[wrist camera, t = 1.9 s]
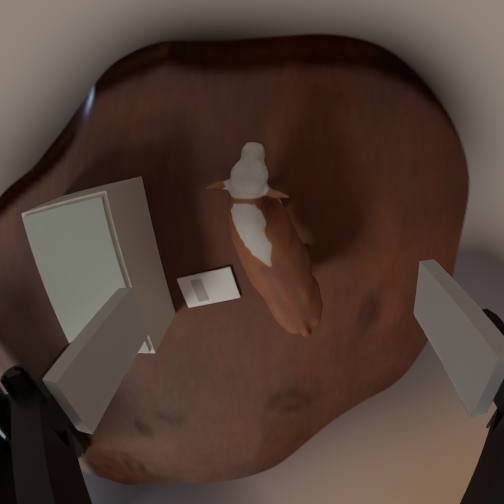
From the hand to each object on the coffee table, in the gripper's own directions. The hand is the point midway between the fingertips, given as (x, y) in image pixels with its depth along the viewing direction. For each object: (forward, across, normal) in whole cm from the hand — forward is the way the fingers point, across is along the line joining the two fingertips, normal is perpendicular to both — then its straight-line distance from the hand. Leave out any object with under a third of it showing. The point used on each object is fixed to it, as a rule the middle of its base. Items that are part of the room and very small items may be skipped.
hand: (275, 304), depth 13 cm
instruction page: (+12, -7, -5) cm, 15 cm away
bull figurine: (+12, 0, 0) cm, 12 cm away
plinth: (+12, -15, -1) cm, 19 cm away
